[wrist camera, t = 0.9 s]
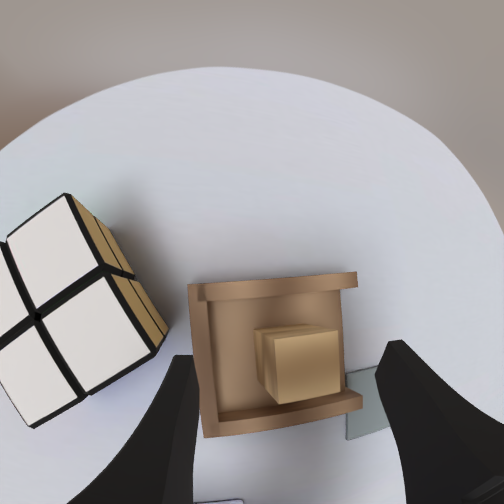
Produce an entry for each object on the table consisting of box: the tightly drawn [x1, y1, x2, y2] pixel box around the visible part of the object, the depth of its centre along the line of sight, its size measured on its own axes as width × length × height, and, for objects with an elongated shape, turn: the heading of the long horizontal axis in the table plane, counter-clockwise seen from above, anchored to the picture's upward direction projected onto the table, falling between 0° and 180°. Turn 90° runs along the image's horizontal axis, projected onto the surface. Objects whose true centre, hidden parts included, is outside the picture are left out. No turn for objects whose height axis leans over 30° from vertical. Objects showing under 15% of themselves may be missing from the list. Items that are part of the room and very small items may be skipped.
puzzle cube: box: [0, 193, 169, 429], centre depth 18 cm, size 10×10×10 cm
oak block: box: [253, 323, 340, 404], centre depth 20 cm, size 4×4×6 cm
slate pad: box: [345, 366, 390, 440], centre depth 26 cm, size 7×7×1 cm
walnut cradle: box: [187, 272, 363, 438], centre depth 23 cm, size 13×11×4 cm
